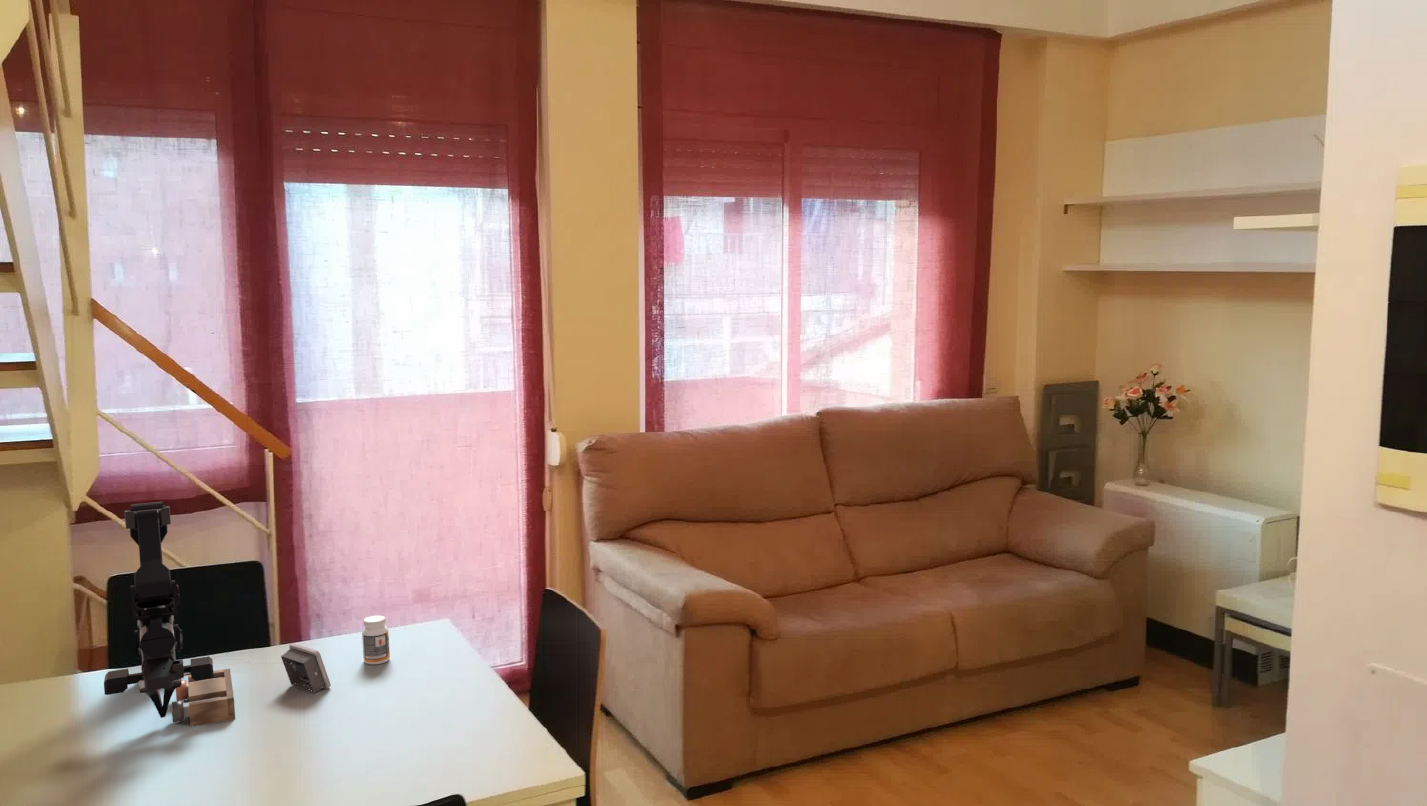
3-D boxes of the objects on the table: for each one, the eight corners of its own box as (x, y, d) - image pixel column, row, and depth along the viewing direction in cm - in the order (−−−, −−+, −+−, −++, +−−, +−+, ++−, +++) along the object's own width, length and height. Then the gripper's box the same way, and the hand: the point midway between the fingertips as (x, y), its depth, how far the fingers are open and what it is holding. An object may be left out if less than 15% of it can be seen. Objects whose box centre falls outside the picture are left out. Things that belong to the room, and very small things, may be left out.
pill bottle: (394, 660, 242) (392, 618, 240) (371, 667, 237) (369, 624, 236) (381, 654, 245) (379, 612, 244) (358, 661, 241) (356, 618, 240)
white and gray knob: (173, 726, 207) (171, 706, 206) (173, 718, 211) (171, 698, 210) (222, 717, 211) (221, 698, 210) (221, 709, 214) (220, 690, 214)
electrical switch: (332, 688, 226) (326, 648, 224) (311, 699, 222) (305, 658, 220) (304, 679, 231) (298, 639, 229) (283, 689, 227) (277, 649, 225)
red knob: (176, 704, 217) (175, 685, 217) (176, 697, 221) (175, 678, 220) (224, 696, 221) (222, 677, 220) (223, 689, 225) (222, 671, 224)
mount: (190, 726, 208) (189, 705, 207) (189, 695, 223) (188, 675, 222) (235, 718, 211) (233, 697, 211) (231, 688, 226) (229, 668, 226)
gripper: (99, 662, 195) (105, 743, 197) (211, 646, 203) (216, 723, 205) (103, 643, 204) (109, 720, 207) (210, 628, 213) (215, 702, 215)
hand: (163, 716), depth 208 cm, fingers closed
